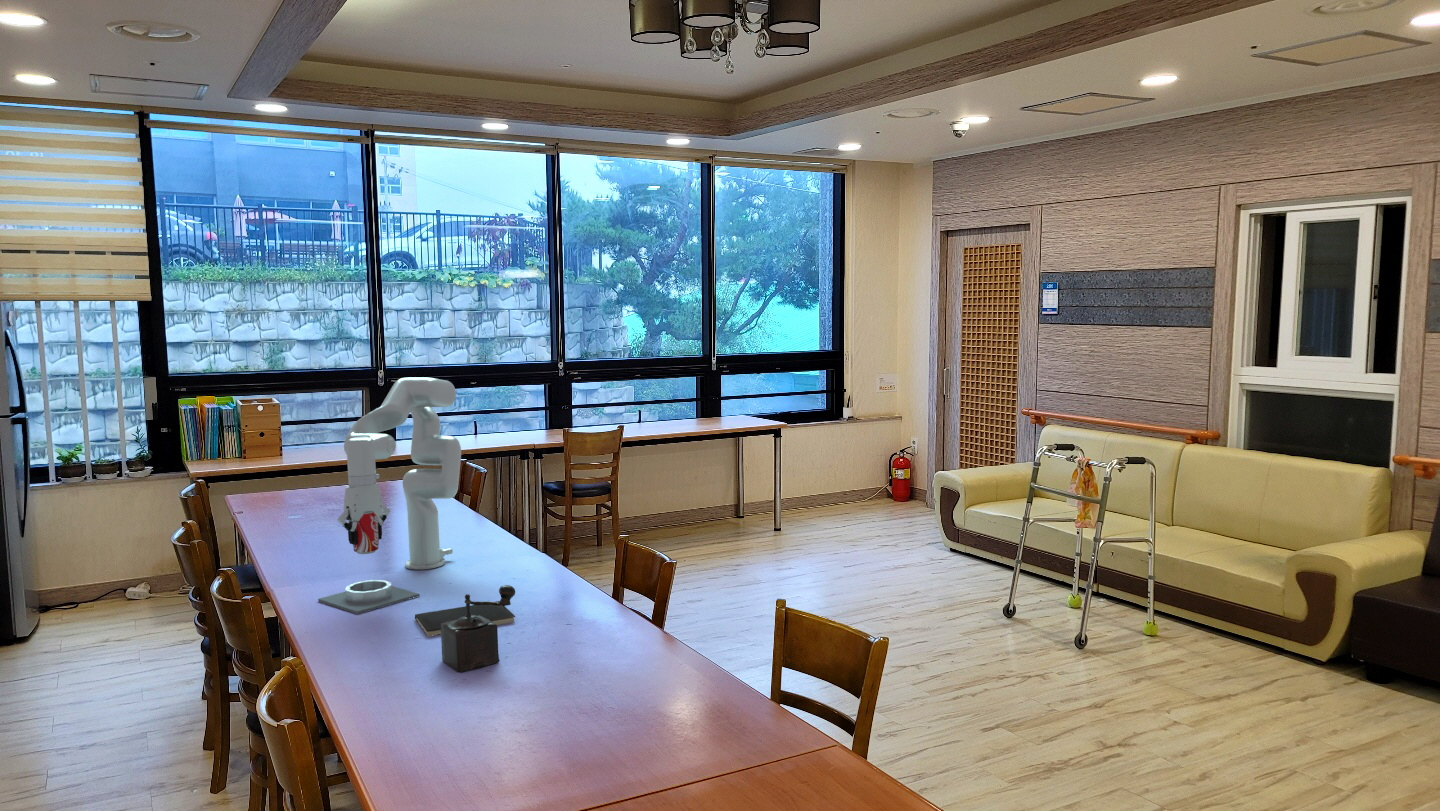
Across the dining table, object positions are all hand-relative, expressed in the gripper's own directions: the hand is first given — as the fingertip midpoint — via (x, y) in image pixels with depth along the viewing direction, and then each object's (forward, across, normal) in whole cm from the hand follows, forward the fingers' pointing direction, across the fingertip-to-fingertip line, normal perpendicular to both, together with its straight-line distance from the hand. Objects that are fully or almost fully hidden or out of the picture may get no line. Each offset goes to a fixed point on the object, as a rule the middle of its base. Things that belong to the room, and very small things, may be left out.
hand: (365, 540), depth 287 cm
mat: (+17, 0, 0) cm, 17 cm away
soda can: (+3, 0, 0) cm, 3 cm away
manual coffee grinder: (+18, +12, +66) cm, 69 cm away
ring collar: (+17, 0, 0) cm, 17 cm away
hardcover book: (+18, -4, +39) cm, 43 cm away
